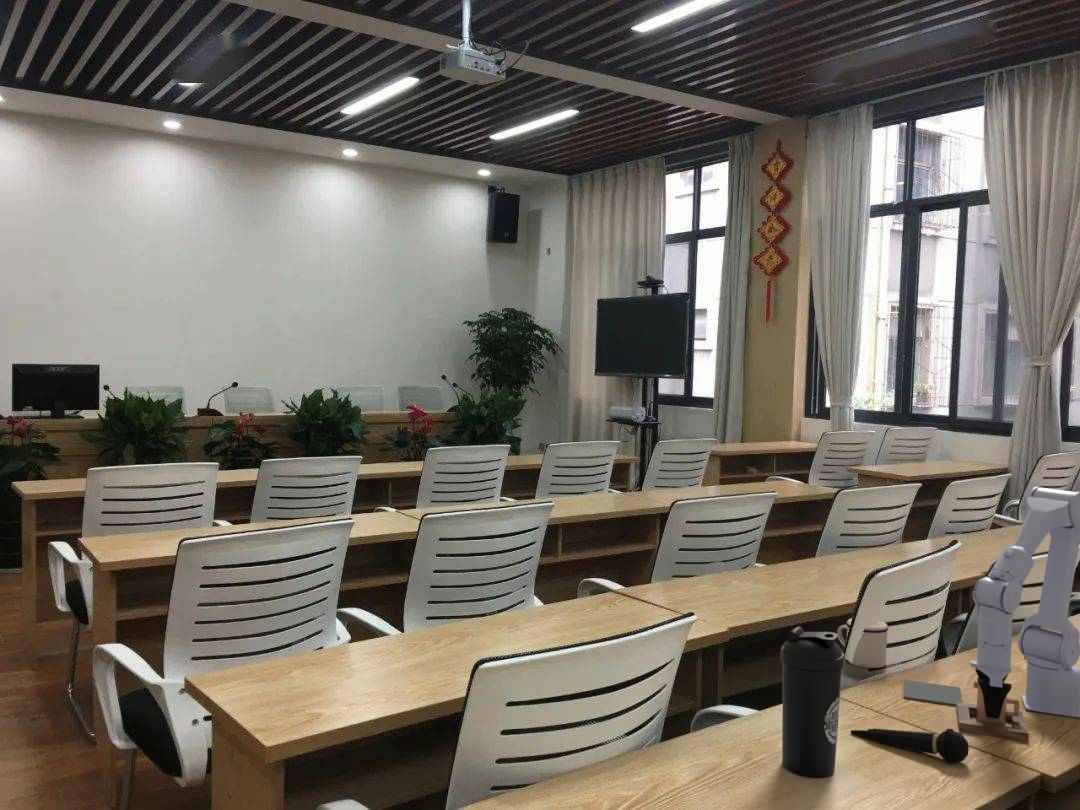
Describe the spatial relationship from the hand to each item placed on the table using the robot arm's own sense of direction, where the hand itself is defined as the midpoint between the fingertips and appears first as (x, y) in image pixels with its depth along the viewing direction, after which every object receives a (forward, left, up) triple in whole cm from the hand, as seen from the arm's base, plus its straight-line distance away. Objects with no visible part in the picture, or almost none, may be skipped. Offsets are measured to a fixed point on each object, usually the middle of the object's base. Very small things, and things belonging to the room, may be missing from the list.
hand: (991, 712), depth 171 cm
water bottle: (+30, +34, -3) cm, 45 cm away
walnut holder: (0, 0, -2) cm, 2 cm away
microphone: (+14, +18, -3) cm, 23 cm away
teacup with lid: (+25, -29, -3) cm, 38 cm away
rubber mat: (+10, -13, -2) cm, 17 cm away
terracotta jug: (0, 0, -2) cm, 2 cm away
